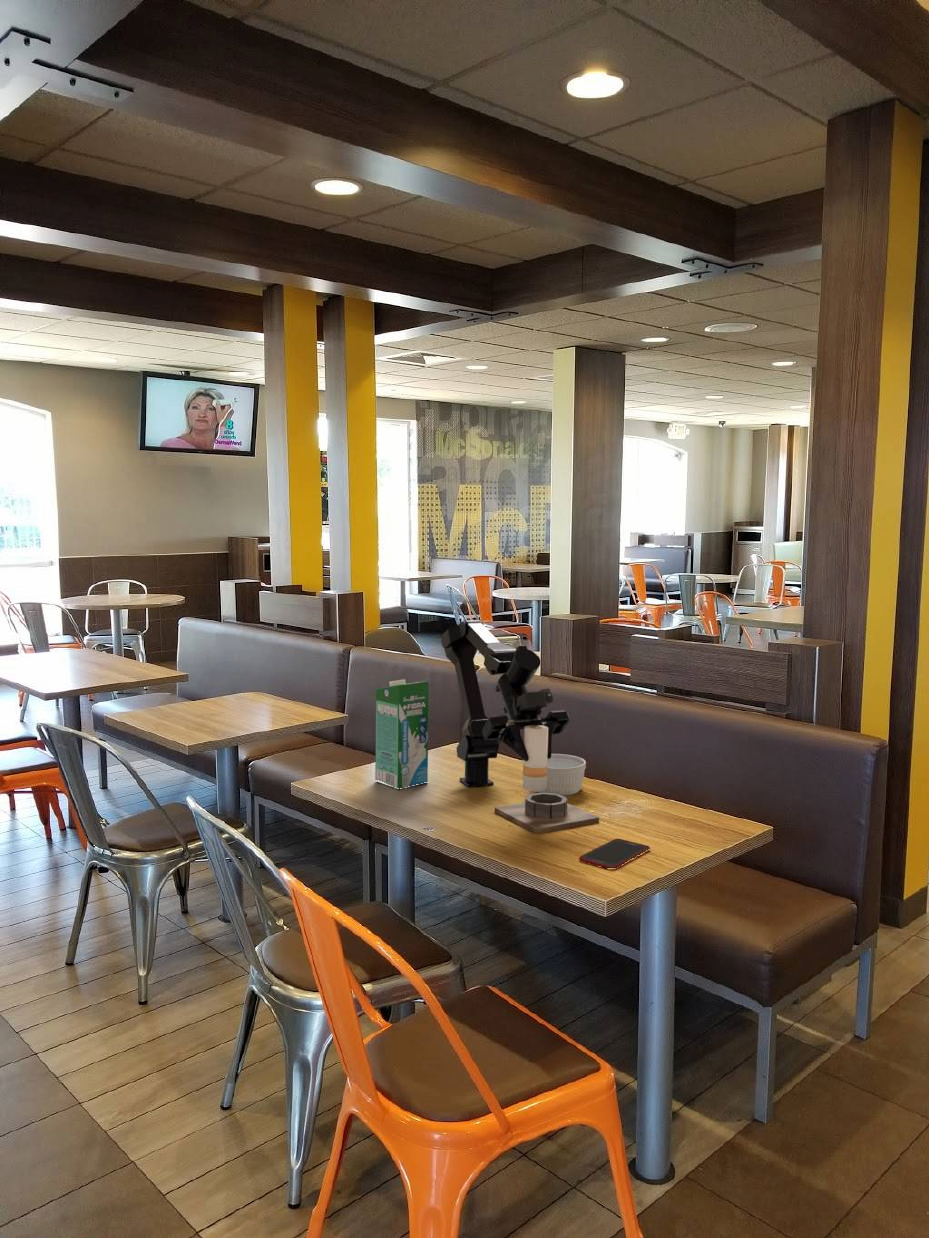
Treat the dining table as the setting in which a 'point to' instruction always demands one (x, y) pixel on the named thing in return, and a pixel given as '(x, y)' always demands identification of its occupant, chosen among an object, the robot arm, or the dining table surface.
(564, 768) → the ramekin
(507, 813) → the roll holder stand
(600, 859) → the cell phone
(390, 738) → the milk carton
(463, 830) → the dining table surface
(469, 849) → the dining table surface
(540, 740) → the paper roll
